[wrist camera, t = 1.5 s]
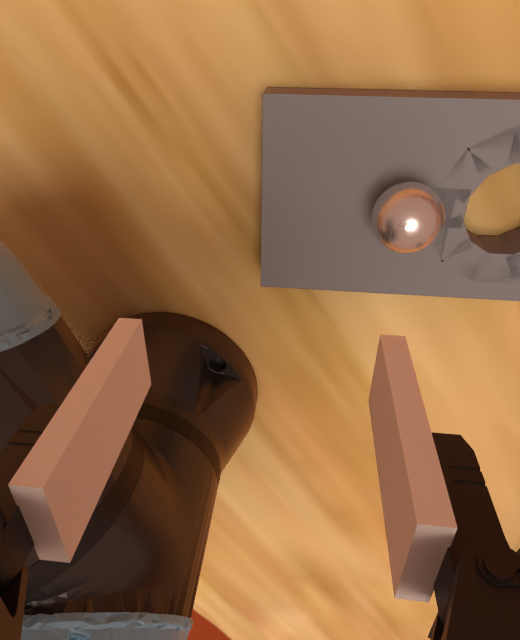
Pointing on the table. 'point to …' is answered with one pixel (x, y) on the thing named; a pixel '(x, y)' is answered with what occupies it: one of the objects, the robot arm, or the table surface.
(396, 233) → the ball
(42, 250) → the table surface
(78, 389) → the robot arm
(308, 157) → the plate
